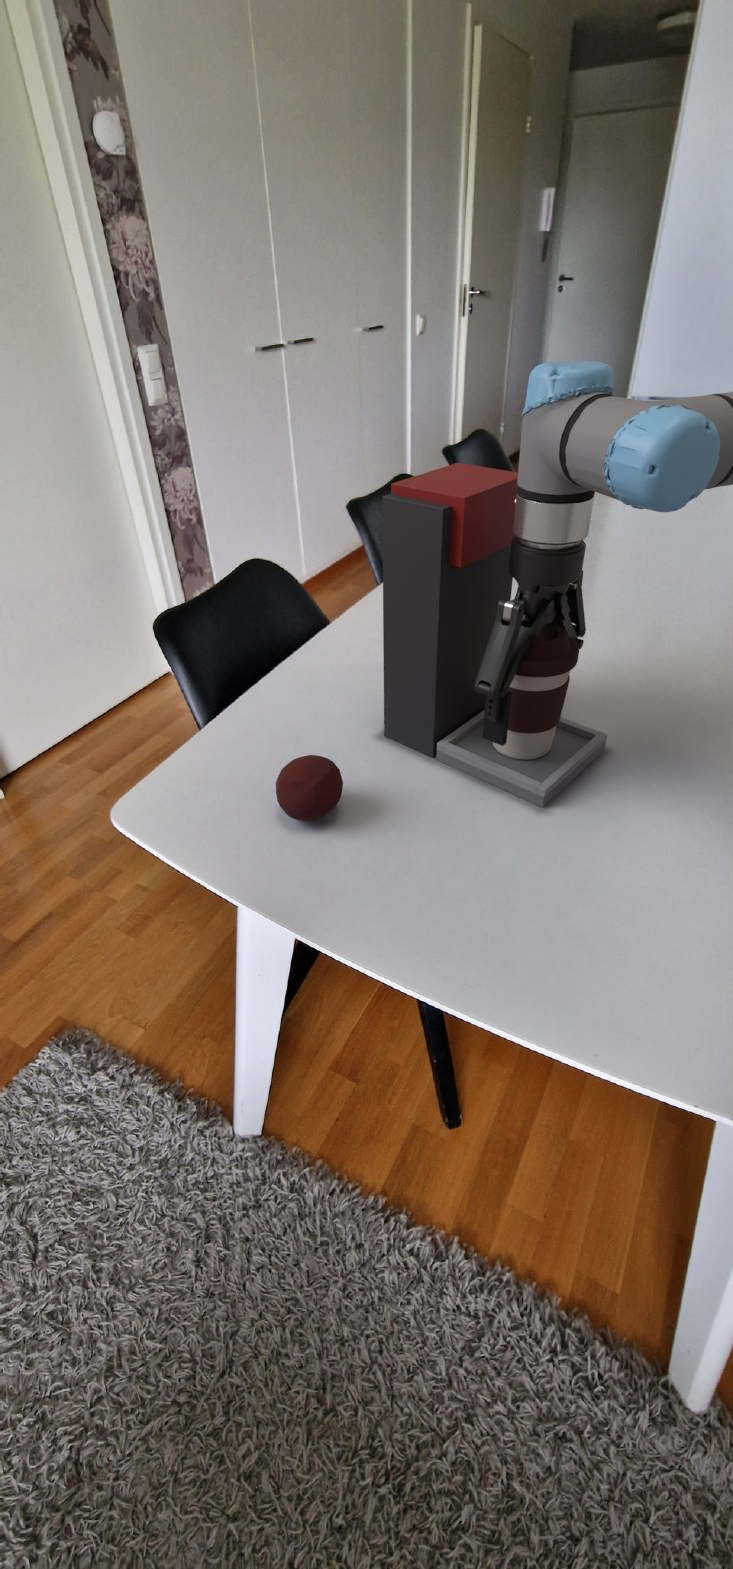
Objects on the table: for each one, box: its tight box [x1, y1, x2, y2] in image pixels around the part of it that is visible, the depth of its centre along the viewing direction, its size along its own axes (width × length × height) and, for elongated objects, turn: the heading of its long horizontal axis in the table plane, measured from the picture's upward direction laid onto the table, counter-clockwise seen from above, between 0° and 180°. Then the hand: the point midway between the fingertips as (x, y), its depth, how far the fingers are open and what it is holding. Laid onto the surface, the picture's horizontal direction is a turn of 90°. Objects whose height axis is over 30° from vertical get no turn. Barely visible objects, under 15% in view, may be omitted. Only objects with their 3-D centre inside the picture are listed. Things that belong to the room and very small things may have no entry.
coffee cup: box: [492, 623, 580, 760], centre depth 82 cm, size 10×10×15 cm
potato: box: [275, 754, 344, 822], centre depth 77 cm, size 7×8×7 cm
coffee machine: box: [381, 462, 608, 808], centre depth 81 cm, size 24×15×31 cm, turn 49°
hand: (525, 717), depth 84 cm, fingers open, 13 cm apart
